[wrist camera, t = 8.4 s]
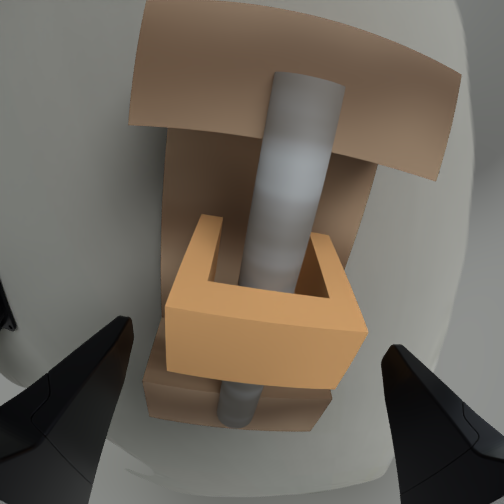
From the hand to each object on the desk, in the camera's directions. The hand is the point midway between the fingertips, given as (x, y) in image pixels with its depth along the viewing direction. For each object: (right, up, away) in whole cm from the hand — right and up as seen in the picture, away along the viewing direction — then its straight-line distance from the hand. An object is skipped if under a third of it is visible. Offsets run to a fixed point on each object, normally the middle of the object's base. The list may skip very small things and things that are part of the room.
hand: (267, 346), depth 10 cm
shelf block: (0, +4, +7) cm, 8 cm away
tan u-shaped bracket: (0, +3, +5) cm, 6 cm away
